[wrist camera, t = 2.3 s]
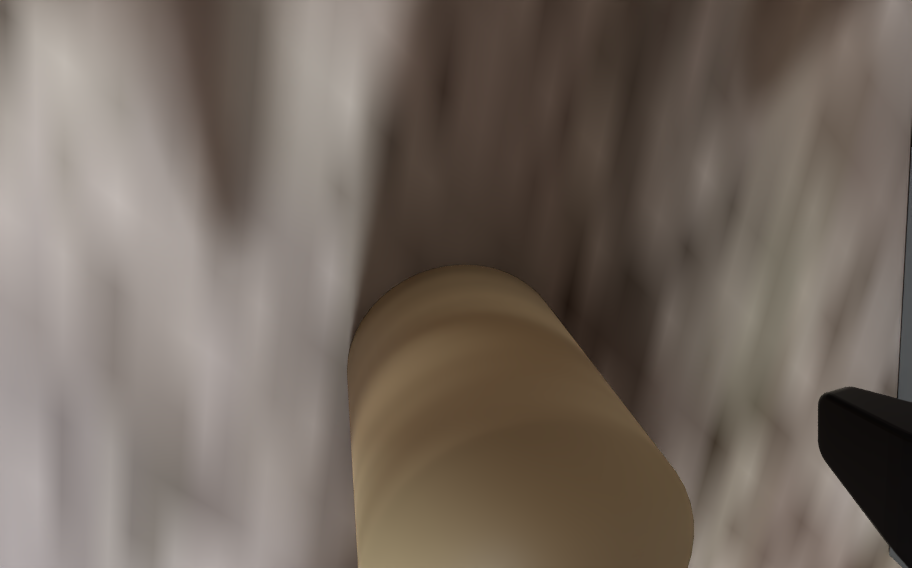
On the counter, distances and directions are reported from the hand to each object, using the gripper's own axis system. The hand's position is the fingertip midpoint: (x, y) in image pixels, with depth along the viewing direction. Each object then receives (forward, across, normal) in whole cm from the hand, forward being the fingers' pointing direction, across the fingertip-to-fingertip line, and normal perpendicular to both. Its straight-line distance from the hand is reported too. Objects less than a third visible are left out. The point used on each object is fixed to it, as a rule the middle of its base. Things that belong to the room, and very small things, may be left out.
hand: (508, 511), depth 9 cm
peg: (+4, 0, 0) cm, 4 cm away
